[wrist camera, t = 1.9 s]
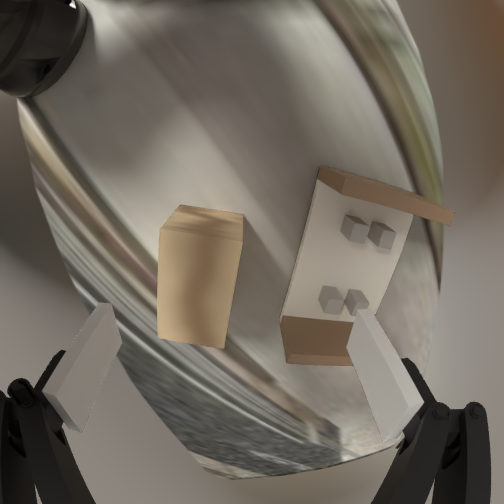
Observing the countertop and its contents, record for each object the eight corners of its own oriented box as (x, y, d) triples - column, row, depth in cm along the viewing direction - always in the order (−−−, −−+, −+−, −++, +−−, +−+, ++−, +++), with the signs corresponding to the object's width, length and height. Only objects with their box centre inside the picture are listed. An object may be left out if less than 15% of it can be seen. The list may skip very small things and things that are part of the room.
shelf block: (173, 296, 34) (157, 337, 27) (180, 204, 30) (160, 228, 22) (227, 305, 35) (223, 348, 28) (243, 214, 30) (243, 241, 23)
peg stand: (279, 319, 36) (286, 363, 29) (320, 165, 28) (345, 176, 21) (364, 327, 37) (384, 365, 30) (415, 193, 29) (454, 212, 22)
